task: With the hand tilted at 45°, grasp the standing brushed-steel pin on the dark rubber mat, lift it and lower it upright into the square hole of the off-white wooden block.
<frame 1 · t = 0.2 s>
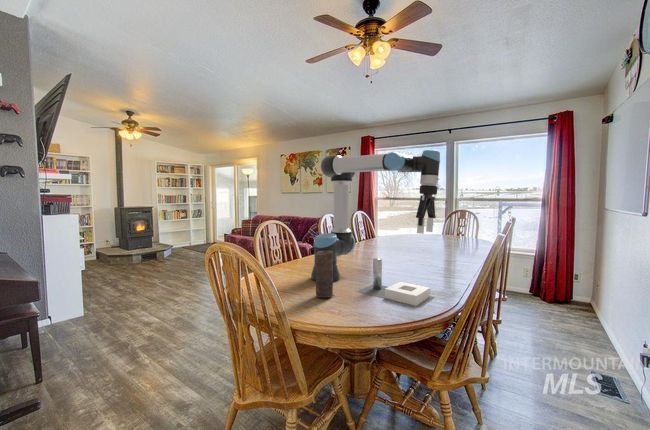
hand: (424, 232, 136), 27 cm above the table, tool pointing down, fingers open, 13 cm apart
candle: (324, 297, 131), on the table
hole block: (407, 297, 129), resting on mat
mat: (394, 295, 133), on the table
pin: (377, 288, 141), resting on mat
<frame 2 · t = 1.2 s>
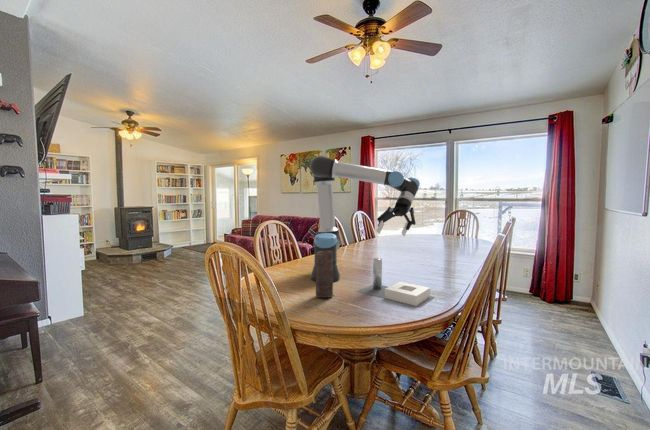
hand: (390, 233, 147), 25 cm above the table, tool tilted 45°, fingers open, 13 cm apart
nothing on the table moved.
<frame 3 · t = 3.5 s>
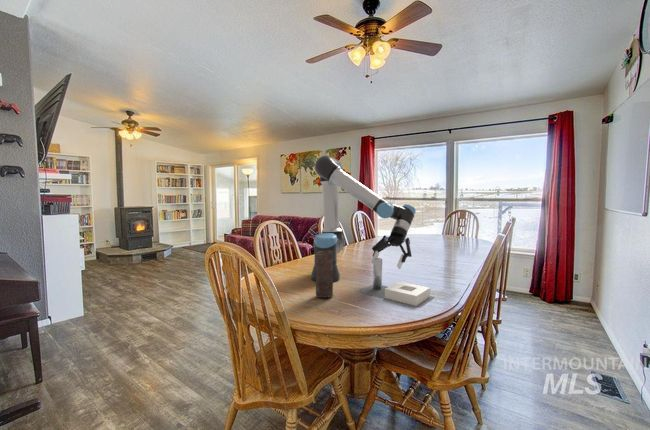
hand: (385, 265, 143), 11 cm above the table, tool tilted 45°, fingers open, 13 cm apart
nothing on the table moved.
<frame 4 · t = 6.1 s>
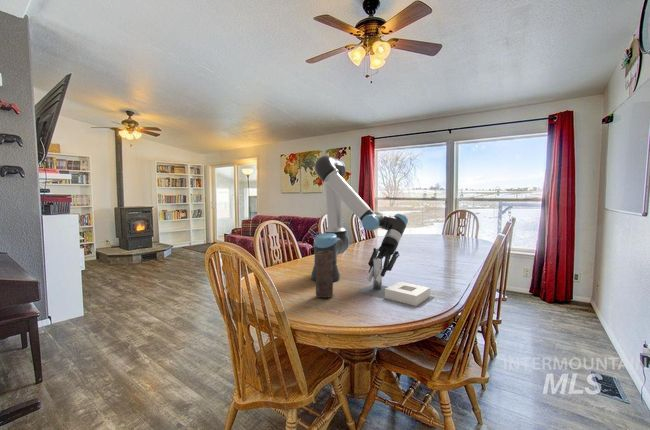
hand: (373, 280, 138), 5 cm above the table, tool tilted 45°, fingers closed on pin, 4 cm apart
pin: (377, 288, 141), point 1 cm above the table, touching gripper, mat
everything else where it was.
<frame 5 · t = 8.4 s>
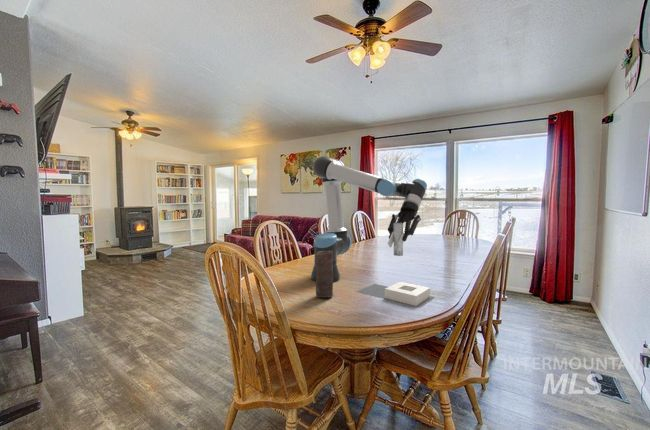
hand: (394, 245, 129), 22 cm above the table, tool tilted 45°, fingers closed on pin, 4 cm apart
pin: (398, 255, 133), point 18 cm above the table, touching gripper
everything else where it was.
when the fingers open (7 cm above the table, at t = 11.2 s): pin drops 1 cm, resting on mat.
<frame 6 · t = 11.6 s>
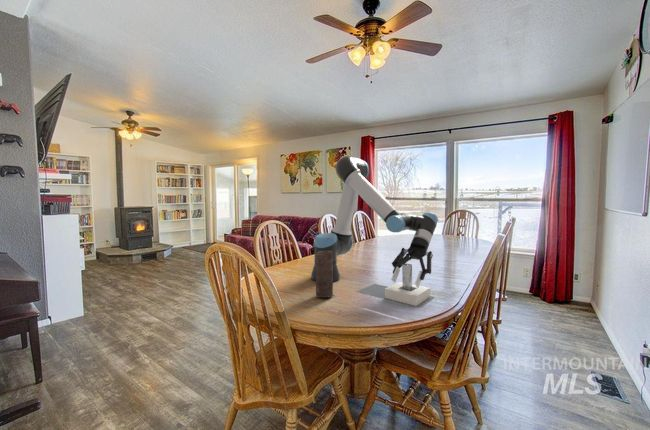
hand: (404, 283, 126), 7 cm above the table, tool tilted 45°, fingers open, 10 cm apart
pin: (407, 297, 129), point 1 cm above the table, touching mat
everything else where it was.
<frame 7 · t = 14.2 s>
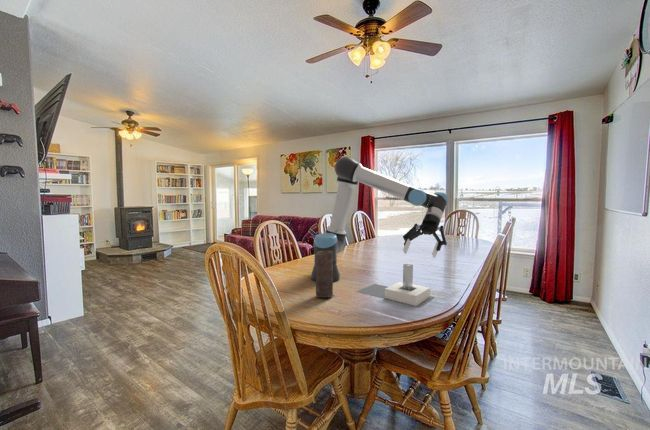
hand: (418, 253, 136), 18 cm above the table, tool tilted 45°, fingers open, 13 cm apart
nothing on the table moved.
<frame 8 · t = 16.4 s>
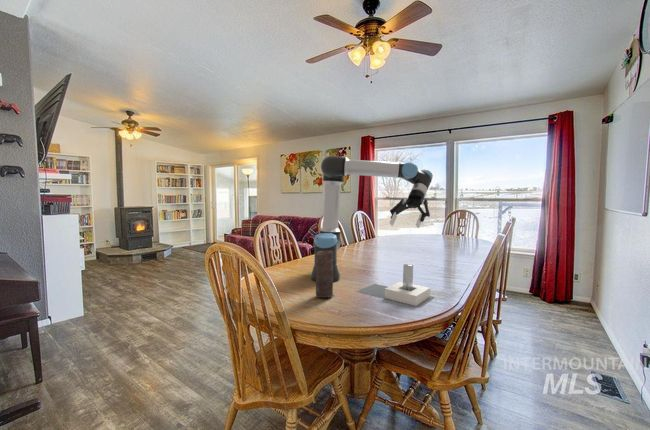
hand: (403, 225, 146), 30 cm above the table, tool tilted 45°, fingers open, 13 cm apart
nothing on the table moved.
at the end: pin 0.1 cm off-centre on the hole block, point 0.0 cm above the hole block's base; pin tilted 0°; the gripper is holding nothing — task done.
